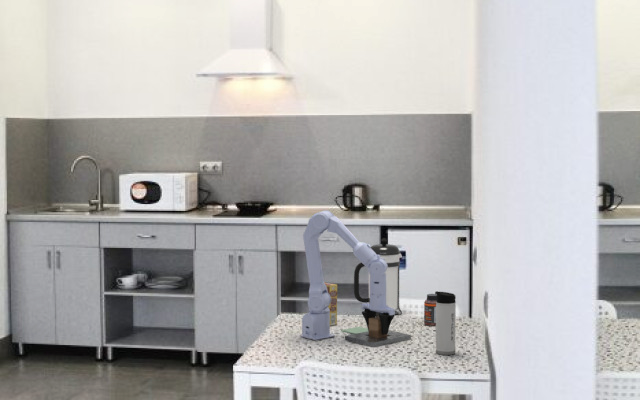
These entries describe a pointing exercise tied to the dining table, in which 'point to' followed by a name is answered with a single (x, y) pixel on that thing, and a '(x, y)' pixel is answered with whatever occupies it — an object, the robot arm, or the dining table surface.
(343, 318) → the dining table surface
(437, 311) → the travel mug
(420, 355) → the dining table surface
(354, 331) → the pad
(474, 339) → the dining table surface
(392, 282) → the coffee press
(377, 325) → the plug
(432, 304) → the supplement bottle
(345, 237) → the robot arm
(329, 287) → the candy box
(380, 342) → the grey plate with hole
